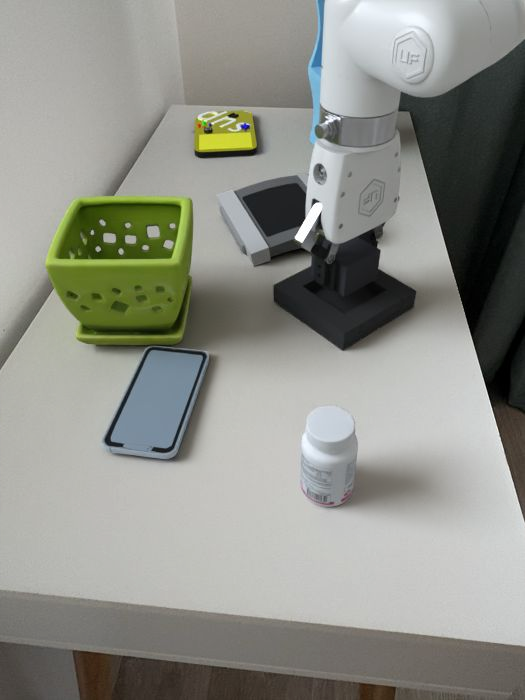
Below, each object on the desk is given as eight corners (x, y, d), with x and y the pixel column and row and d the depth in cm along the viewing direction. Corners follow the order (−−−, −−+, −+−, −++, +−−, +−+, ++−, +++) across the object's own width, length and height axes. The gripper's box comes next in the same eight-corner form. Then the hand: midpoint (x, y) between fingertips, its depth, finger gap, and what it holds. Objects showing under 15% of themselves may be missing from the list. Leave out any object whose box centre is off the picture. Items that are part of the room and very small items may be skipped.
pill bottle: (338, 458, 59) (344, 395, 53) (362, 498, 55) (371, 435, 50) (291, 474, 57) (292, 411, 52) (313, 515, 54) (316, 453, 48)
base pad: (342, 265, 82) (344, 248, 81) (414, 307, 75) (417, 290, 74) (273, 301, 77) (272, 284, 75) (342, 351, 70) (344, 333, 68)
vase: (306, 137, 113) (310, -21, 96) (356, 130, 115) (369, -27, 98) (326, 160, 106) (335, -7, 89) (380, 151, 108) (398, -13, 91)
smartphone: (211, 351, 69) (174, 455, 58) (211, 357, 70) (175, 462, 58) (146, 344, 70) (97, 446, 59) (147, 351, 71) (99, 453, 59)
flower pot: (68, 359, 70) (38, 263, 61) (94, 285, 80) (72, 194, 72) (194, 358, 69) (181, 261, 61) (204, 284, 80) (194, 193, 71)
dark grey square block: (343, 258, 76) (346, 230, 74) (377, 278, 73) (381, 249, 71) (310, 276, 74) (311, 247, 71) (343, 297, 71) (346, 267, 68)
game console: (259, 155, 108) (259, 146, 107) (194, 159, 107) (194, 150, 106) (251, 115, 121) (251, 107, 120) (193, 118, 121) (193, 110, 120)
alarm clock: (365, 222, 84) (248, 235, 79) (359, 252, 87) (247, 267, 82) (316, 168, 96) (213, 177, 92) (313, 196, 99) (213, 206, 95)
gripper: (320, 161, 55) (312, 321, 67) (444, 110, 63) (417, 262, 75) (265, 134, 59) (267, 289, 72) (388, 90, 67) (371, 236, 80)
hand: (344, 273), depth 73 cm, fingers closed on dark grey square block, 5 cm apart
